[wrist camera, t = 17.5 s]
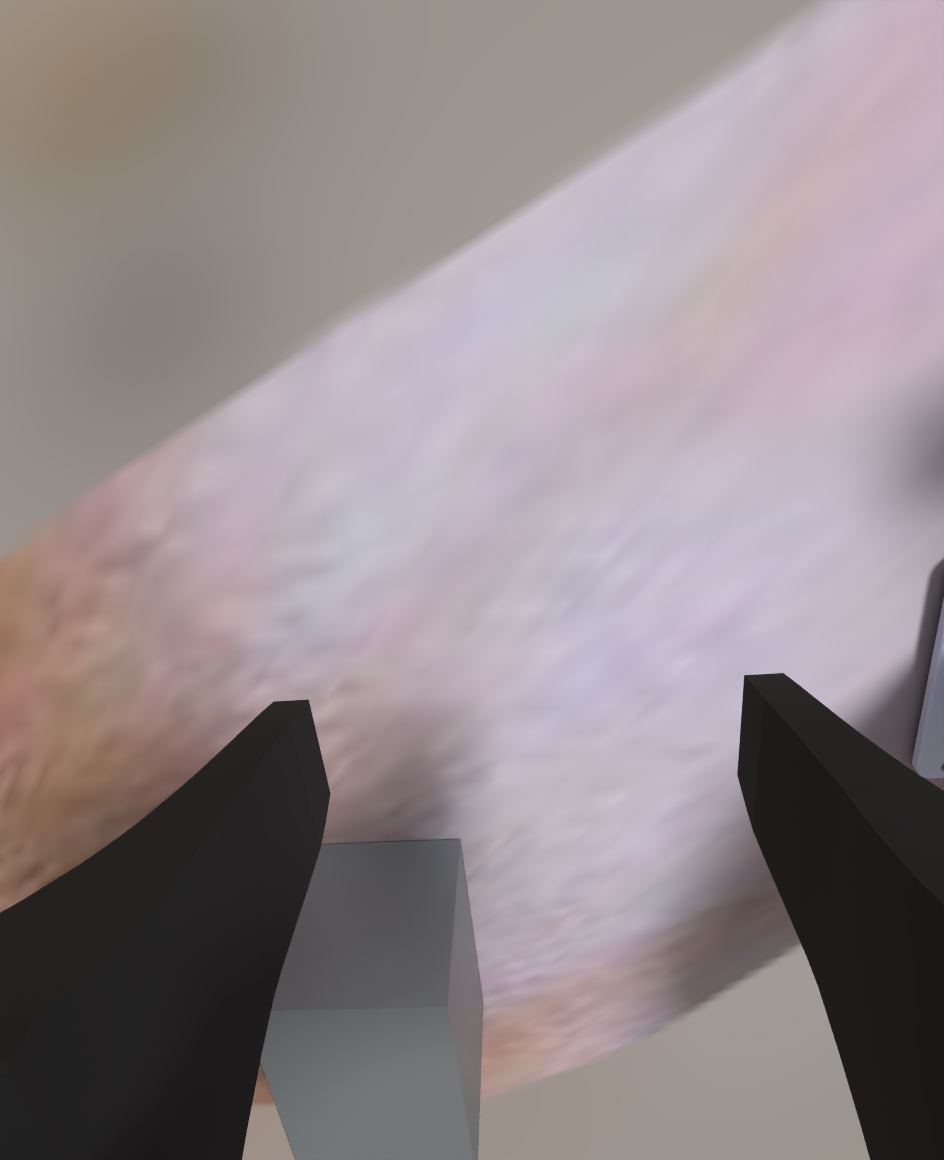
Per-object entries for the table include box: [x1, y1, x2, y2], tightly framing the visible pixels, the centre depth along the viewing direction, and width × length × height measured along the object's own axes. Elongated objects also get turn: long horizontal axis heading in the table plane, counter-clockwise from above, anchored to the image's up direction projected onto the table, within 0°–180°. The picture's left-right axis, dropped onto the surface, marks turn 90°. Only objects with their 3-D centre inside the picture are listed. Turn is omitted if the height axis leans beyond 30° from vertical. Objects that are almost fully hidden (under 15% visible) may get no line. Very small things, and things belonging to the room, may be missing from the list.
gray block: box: [260, 839, 483, 1160], centre depth 27 cm, size 6×9×6 cm, turn 5°
